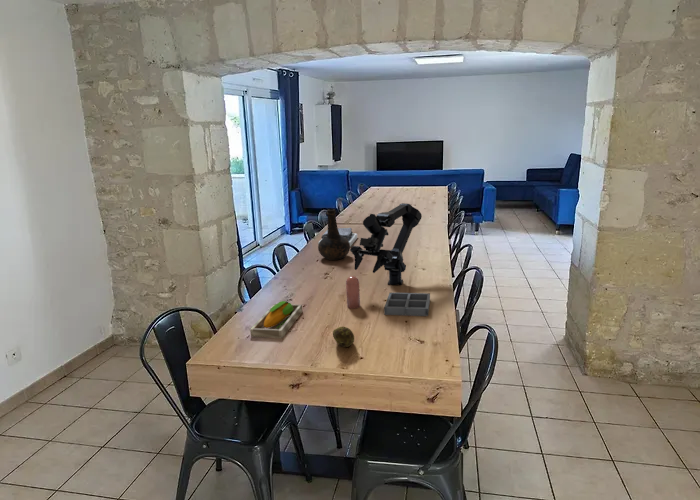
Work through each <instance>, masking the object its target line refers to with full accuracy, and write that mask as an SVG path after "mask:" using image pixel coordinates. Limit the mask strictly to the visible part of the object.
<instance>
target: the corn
mask: <svg viewBox="0 0 700 500" xmlns="http://www.w3.org/2000/svg"><path fill="white" fill-rule="evenodd" d="M275 304H276V305H274V304H273V305H274V306H273V305H272V306H273V307H272V306H271V307H272V308H271V307H270V308H271V309H270V308H269V309H270V313H269V314H268V316H267V317H266V319H265V321H264V326H263V328H264V329H271V328H273V327H275V329H280V328H281V327H282V326H283V324H284V323H285V322H286V321H287V320H288V318H289V317H290V316H291V315H292V313H293V306H292V303H291V302H289V301H285V300H282V301H279V302H277V303H275ZM282 321H283V322H282ZM277 325H278V326H277Z"/></svg>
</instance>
